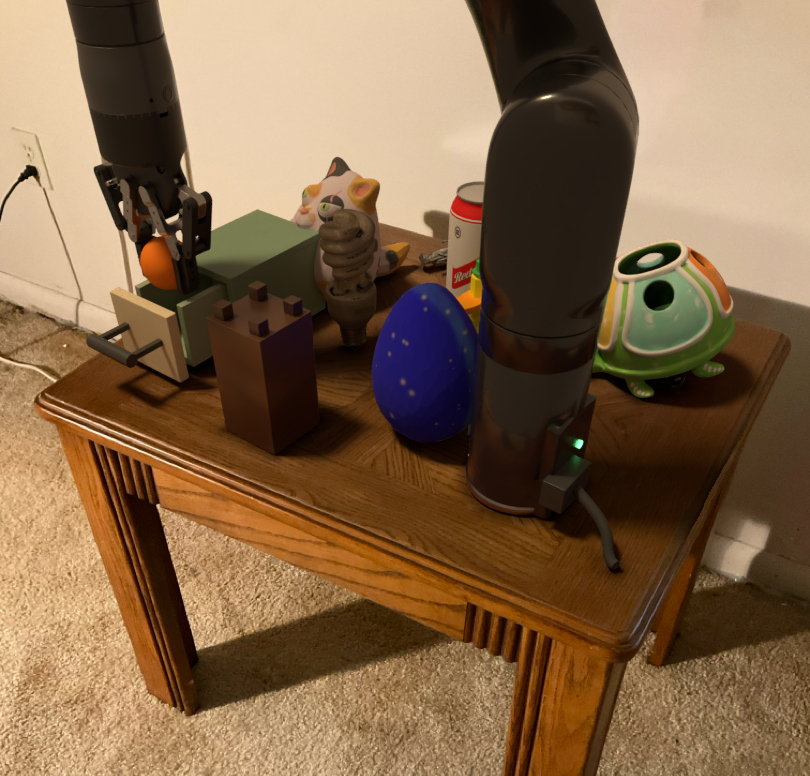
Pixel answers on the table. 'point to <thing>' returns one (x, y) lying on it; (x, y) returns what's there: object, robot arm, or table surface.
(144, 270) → the ball
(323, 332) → the table surface
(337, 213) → the light bulb
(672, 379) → the toy car
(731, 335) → the turtle holder
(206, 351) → the drawer
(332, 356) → the table surface
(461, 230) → the beer can
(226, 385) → the stand
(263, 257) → the cabinet
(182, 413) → the table surface
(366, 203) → the figurine
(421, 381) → the ornament
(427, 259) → the angel statue
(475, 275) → the toy figure
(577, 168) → the robot arm
